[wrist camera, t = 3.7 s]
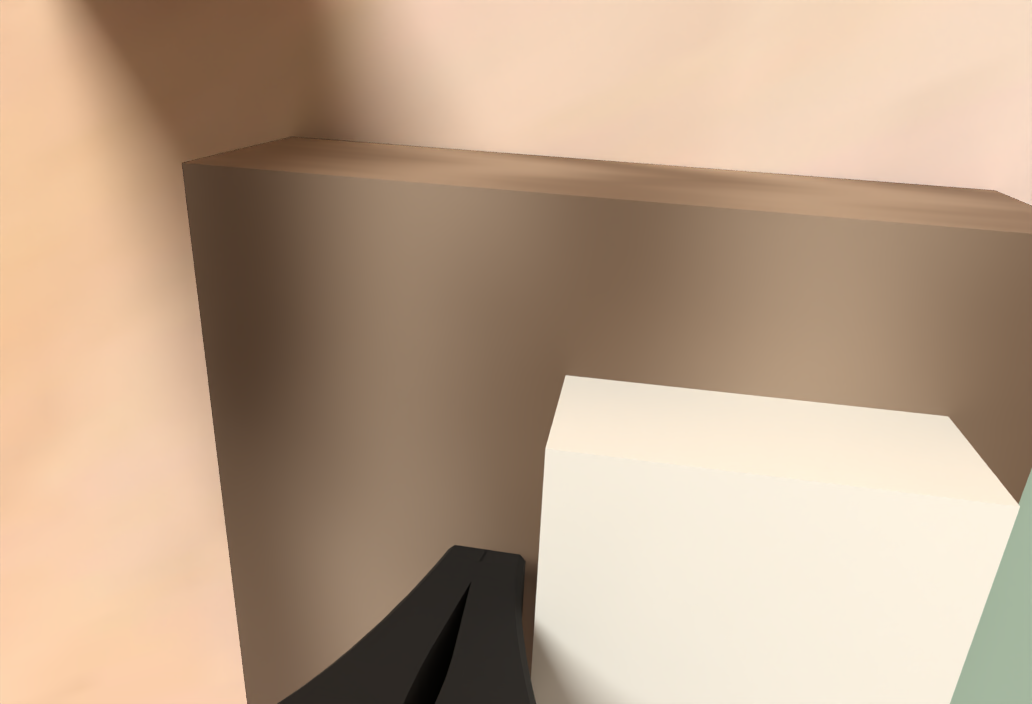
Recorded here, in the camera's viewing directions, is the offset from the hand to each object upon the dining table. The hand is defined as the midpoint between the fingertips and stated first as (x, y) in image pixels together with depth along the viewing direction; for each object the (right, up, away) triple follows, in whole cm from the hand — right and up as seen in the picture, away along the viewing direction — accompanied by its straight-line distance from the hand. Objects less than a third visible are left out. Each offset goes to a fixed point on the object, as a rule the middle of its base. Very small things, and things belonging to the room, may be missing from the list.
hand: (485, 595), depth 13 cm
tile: (+4, 0, -1) cm, 4 cm away
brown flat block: (+2, +1, +5) cm, 5 cm away
